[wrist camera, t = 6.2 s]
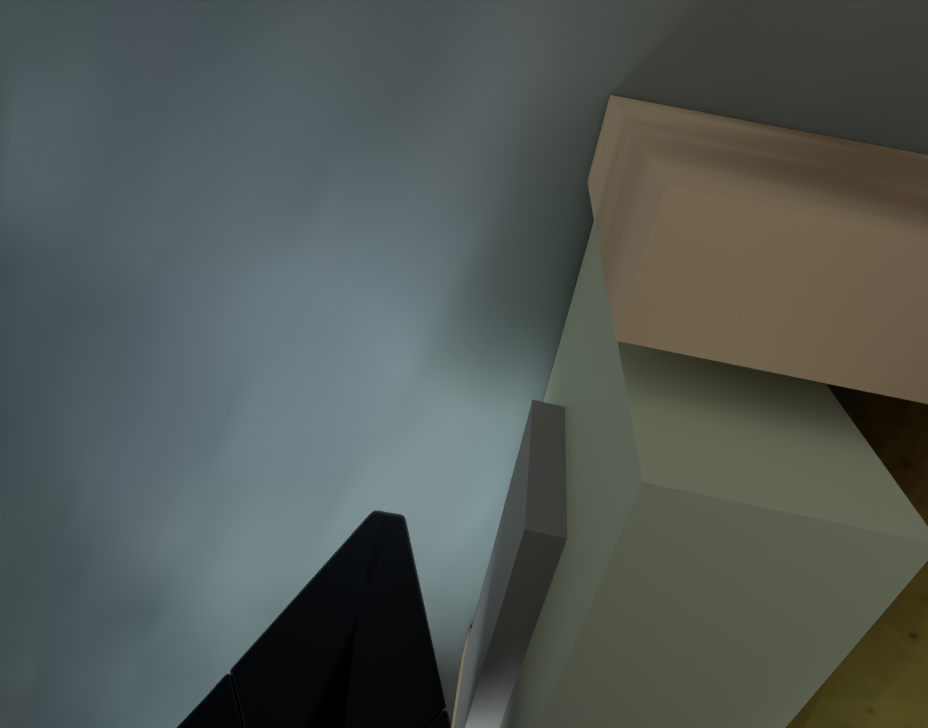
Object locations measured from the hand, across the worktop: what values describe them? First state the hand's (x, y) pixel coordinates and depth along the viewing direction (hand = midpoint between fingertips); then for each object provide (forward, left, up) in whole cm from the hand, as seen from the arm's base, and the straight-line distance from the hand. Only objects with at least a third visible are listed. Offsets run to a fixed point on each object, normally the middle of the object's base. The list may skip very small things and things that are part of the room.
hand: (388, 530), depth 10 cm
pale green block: (-3, 0, -3) cm, 4 cm away
